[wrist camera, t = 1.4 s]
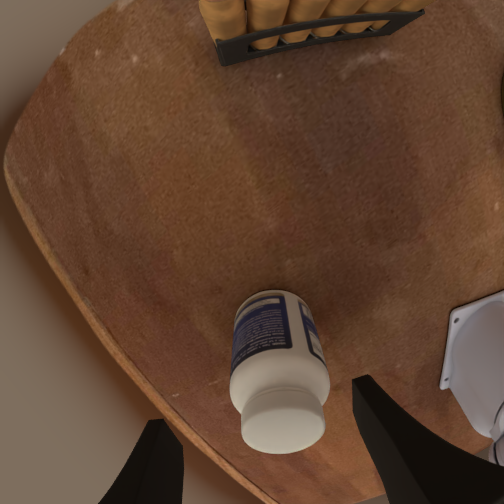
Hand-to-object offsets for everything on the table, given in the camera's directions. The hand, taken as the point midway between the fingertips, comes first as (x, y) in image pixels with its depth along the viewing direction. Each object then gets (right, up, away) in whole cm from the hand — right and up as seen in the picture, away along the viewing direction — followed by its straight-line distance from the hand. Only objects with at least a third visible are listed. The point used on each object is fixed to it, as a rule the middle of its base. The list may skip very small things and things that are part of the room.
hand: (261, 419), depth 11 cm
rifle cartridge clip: (+3, +19, +5) cm, 20 cm away
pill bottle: (+1, +1, +12) cm, 12 cm away
